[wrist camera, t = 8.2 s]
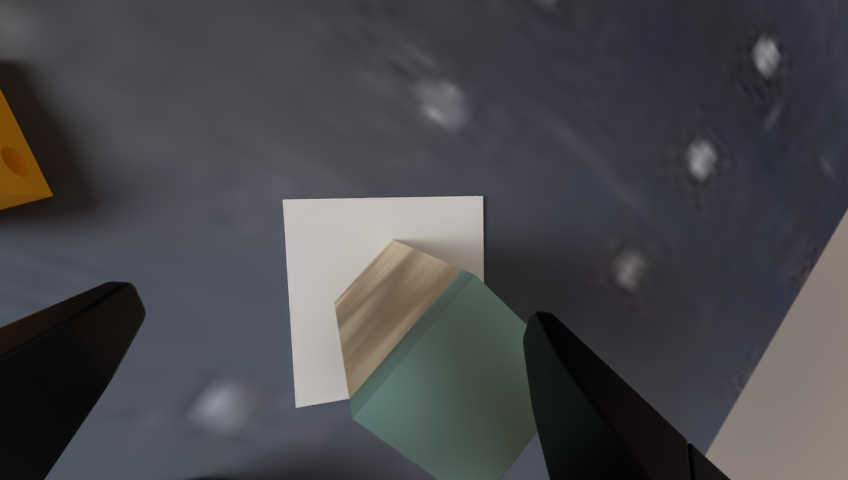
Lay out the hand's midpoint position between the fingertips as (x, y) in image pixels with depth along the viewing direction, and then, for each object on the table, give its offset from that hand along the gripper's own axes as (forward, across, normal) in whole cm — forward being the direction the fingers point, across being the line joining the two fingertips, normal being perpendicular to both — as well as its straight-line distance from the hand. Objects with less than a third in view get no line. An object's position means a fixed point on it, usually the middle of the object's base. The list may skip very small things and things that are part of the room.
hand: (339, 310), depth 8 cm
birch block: (+10, -1, +9) cm, 14 cm away
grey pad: (+11, -1, +9) cm, 14 cm away
